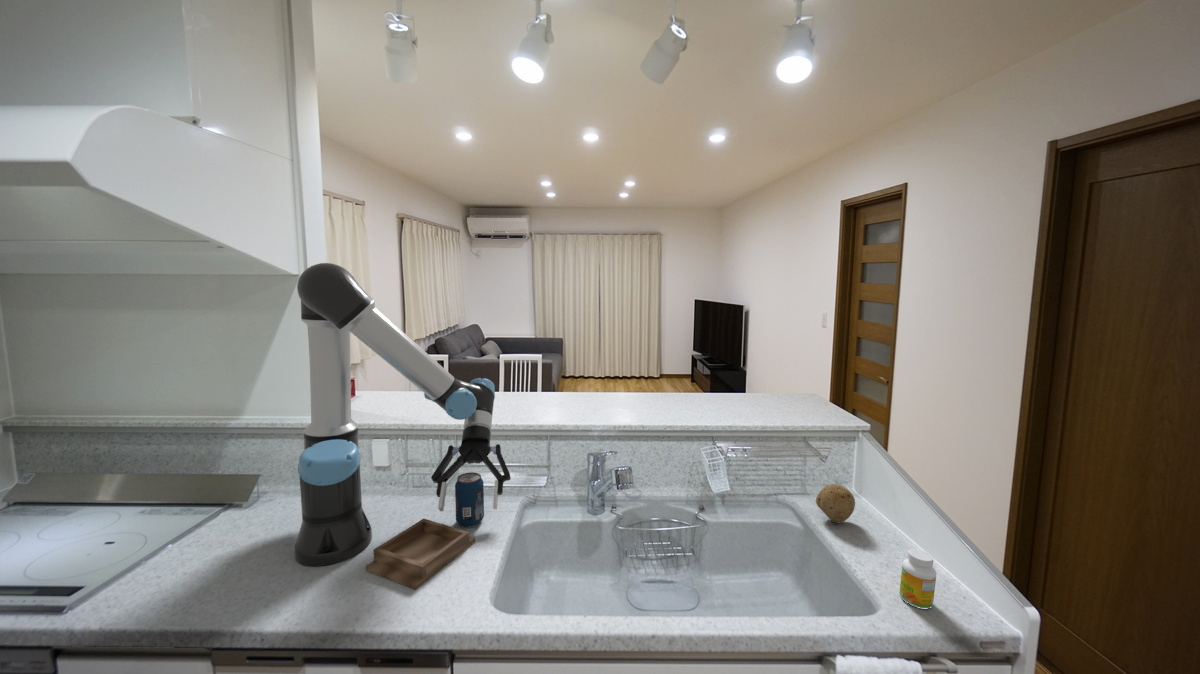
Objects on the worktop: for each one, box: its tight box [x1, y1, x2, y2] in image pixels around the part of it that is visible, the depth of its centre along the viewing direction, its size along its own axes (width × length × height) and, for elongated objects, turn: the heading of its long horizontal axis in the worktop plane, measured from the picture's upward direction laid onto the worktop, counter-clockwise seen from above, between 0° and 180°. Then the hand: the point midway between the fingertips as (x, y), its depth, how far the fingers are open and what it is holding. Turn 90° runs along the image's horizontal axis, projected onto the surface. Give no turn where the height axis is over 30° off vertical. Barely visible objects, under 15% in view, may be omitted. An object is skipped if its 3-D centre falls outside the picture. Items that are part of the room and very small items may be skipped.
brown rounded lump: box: [815, 483, 856, 524], centre depth 114 cm, size 9×9×10 cm
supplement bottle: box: [898, 548, 937, 608], centre depth 85 cm, size 5×5×10 cm
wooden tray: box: [365, 518, 476, 590], centre depth 97 cm, size 14×18×4 cm
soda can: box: [454, 471, 485, 529], centre depth 111 cm, size 7×7×12 cm
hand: (467, 508), depth 109 cm, fingers open, 12 cm apart
